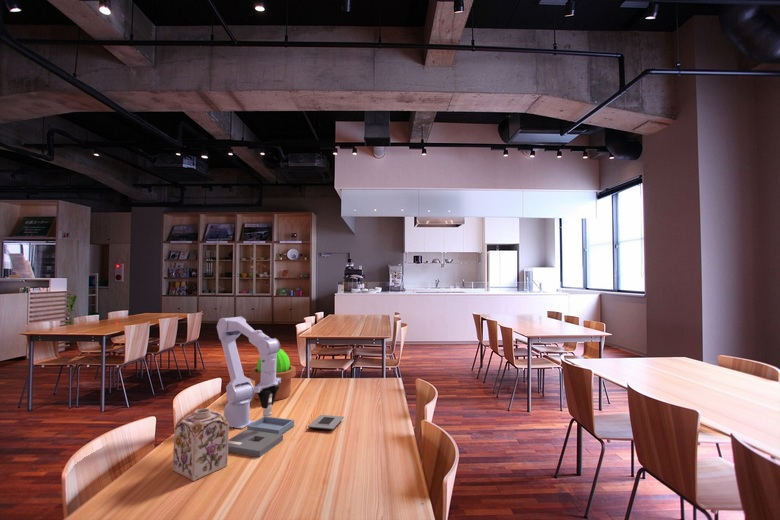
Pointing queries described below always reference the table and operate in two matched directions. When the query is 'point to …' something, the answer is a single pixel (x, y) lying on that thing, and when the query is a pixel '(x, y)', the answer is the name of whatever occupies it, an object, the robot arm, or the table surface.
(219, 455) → the decorative jar
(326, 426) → the electrical outlet
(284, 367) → the potted cactus
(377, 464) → the table surface
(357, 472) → the table surface
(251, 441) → the light bulb socket board
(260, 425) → the tray
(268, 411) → the white light bulb
